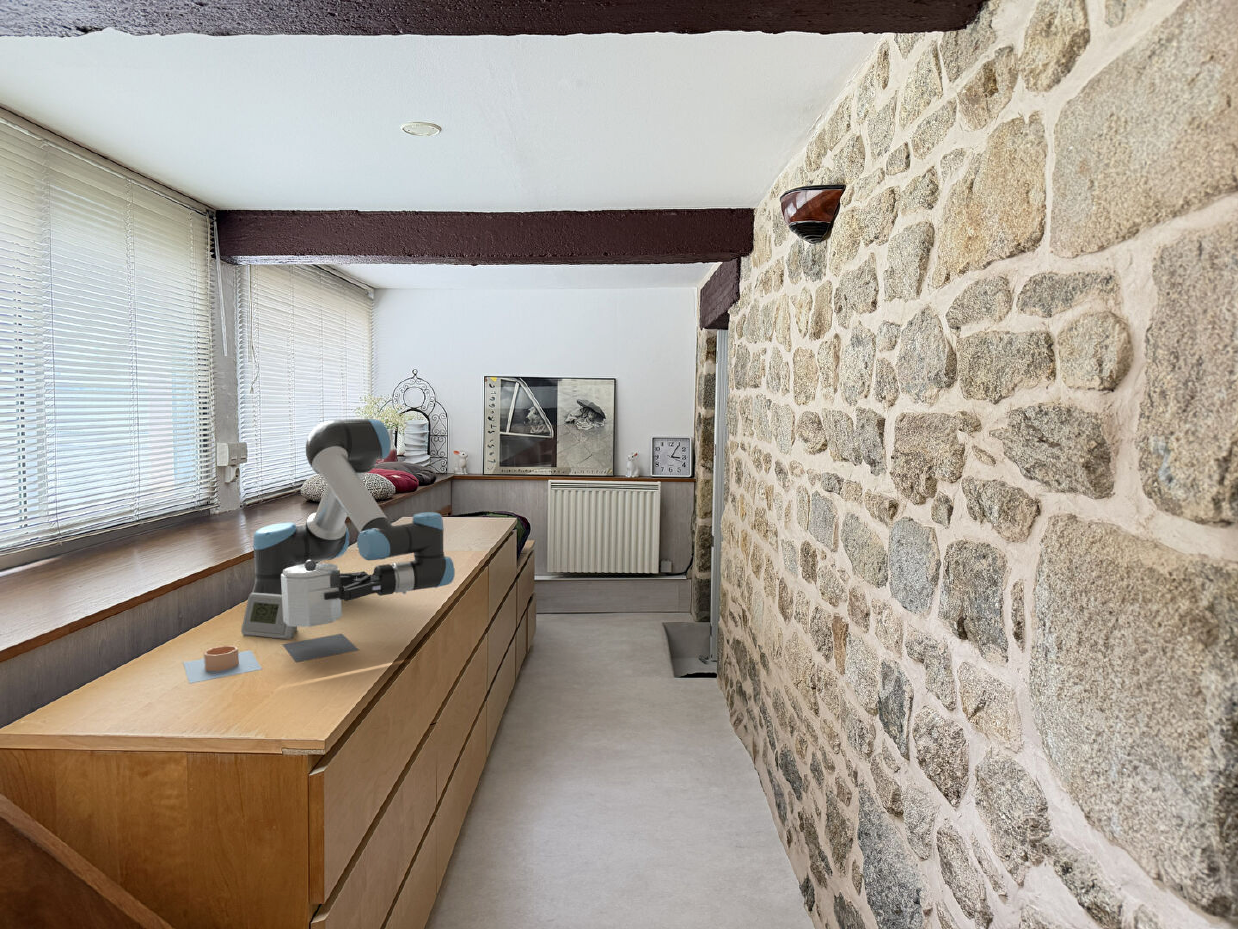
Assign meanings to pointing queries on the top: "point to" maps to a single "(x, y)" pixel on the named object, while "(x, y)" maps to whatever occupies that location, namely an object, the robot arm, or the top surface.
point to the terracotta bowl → (221, 658)
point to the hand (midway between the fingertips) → (301, 591)
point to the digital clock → (266, 617)
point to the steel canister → (296, 594)
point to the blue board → (199, 673)
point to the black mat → (319, 647)
